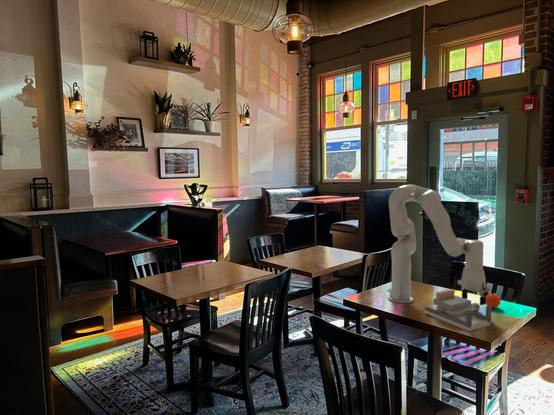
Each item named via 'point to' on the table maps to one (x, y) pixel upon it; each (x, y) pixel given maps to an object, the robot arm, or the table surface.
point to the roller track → (461, 317)
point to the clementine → (492, 300)
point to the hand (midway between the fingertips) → (473, 301)
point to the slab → (450, 300)
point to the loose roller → (474, 307)
